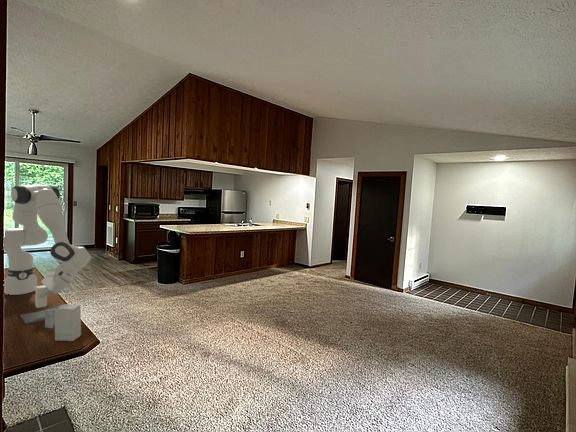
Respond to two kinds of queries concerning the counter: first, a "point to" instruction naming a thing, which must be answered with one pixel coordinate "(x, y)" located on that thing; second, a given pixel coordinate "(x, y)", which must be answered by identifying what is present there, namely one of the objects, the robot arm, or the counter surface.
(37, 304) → the cream block
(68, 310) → the skincare box
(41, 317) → the mat
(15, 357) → the counter surface
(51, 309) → the medicine box
